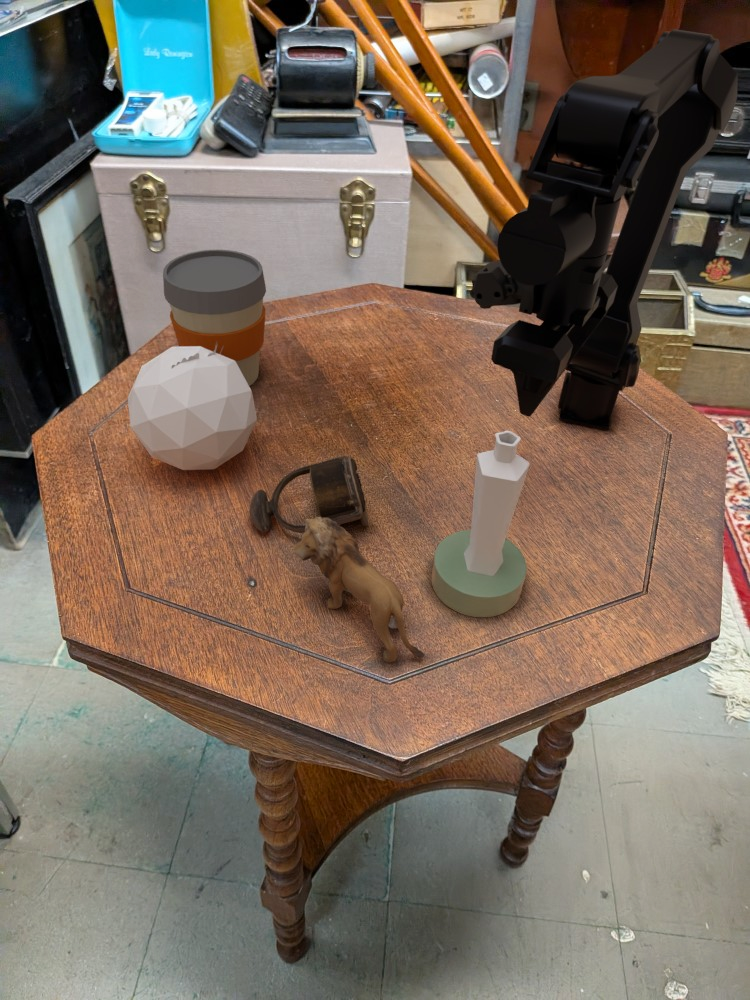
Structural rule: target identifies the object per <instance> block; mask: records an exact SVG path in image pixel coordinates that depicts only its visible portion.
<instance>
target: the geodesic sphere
mask: <svg viewBox="0 0 750 1000" xmlns="http://www.w3.org/2000/svg"><path fill="white" fill-rule="evenodd" d="M216 343H217V342H216ZM223 346H224V345H223ZM216 349H217V345H216V347H215V350H214V352H213V351H210V350H208V349H206V348H203V347H201V346H179V345H178V346H170V347H169V348H168V349H166V350H164V351H163V352H161V353H160V354H158V355H157V356H155V357H154V358H152V359H150V360H149V361H147V362H146V363H144V364H142V365H141V367H140V370H139V372H138V374H137V376H136V378H135V380H134V382H133V384H132V387H131V389H130V392H129V394H128V396H127V405H128V417H129V427H130V429H131V430H132V431H133V433H134V435H135V436H136V437H137V439H138V440H139V441H140V443H141V444H142V446H143V447H144V449H145V450H146V451H147V453H148V454H149V456H150V457H151V458H153V459H155V460H158V461H160V462H163V463H165V464H168V465H170V466H172V467H175V468H177V469H179V470H182V471H197V470H199V471H201V470H202V471H203V470H204V471H205V470H215V469H217V468H218V467H220V466H222V465H223V464H225V463H227V462H228V461H229V460H231V459H232V458H233V457H236V456H237V455H238V454H239V453H241V452H243V451H244V449H245V447H246V445H247V443H248V440H249V439H250V436H251V434H252V431H253V430H254V427H255V425H256V423H257V421H258V417H257V412H256V406H255V400H254V395H253V390H252V389H251V386H249V385H248V383H247V382H246V380H245V378H244V376H243V374H242V372H241V371H240V369H239V367H238V365H237V363H236V362H235V360H232V359H230V358H227V357H225V356H223V355H220V354H221V352H220V354H218V353H216ZM222 349H223V348H222ZM221 351H222V350H221Z"/></svg>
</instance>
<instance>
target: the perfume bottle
mask: <svg viewBox="0 0 750 1000" xmlns="http://www.w3.org/2000/svg"><path fill="white" fill-rule="evenodd" d="M494 436H495V443H494V448H493V449H491V450H487V451H486V450H485V451H482V452H478V453H476V463H475V475H474V486H473V487H474V488H473V499H472V512H471V524H470V530H471V534H470V544H469V546H468V547H467V549H466V551H465V552H464V556H465V561H466V565H467V569H468V571H470V572H475V573H479V574H484V575H489V576H494V575H495V573H496V572H497V570H498V569H499V568H500V566H501V565H502V563H503V554H502V548H503V545H504V542H505V539H507V536H508V533H509V530H510V526H511V524H512V521H513V517H514V514H515V511H516V508H517V505H518V502H519V499H520V495H521V494H522V490H523V487H524V483H525V481H526V477H527V475H528V472H529V468H530V464H531V463H530V462H529V461H528V460H527V459H525V458H524V457H522V456H520V455H519V454H517V452H518V451H517V450H518V446H519V443H520V441H521V440H522V438H521V437H520V436H519V435H517V434H516V433H514V432H513V431H511V430H504V431H499V432H496V433H495V434H494Z"/></svg>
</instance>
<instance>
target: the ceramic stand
mask: <svg viewBox="0 0 750 1000" xmlns="http://www.w3.org/2000/svg"><path fill="white" fill-rule="evenodd" d="M470 534H471V529H464V530H460V531H457V532H453V533H451V534H449V535H447V536H446V537H444V538H443V539H442V540H441V541H440V542H439V543H438V545H437V547H436V548H435V551H434V555H433V562H432V569H431V579H430V580H431V585H432V586H431V587H432V589H433V591H434V593H435V595H436V596H437V598H438V599H439V600H440V601H441V602H442V604H444V605H445V606H446V607H448V608H449V609H451V610H453V611H455V612H456V613H459V614H461V615H463V616H464V615H465V616H467V617H473V618H491V617H492V618H493V617H496V616H499V615H502V614H505V613H506V612H508V611H509V610H511V609H512V608H514V606H515V605H516V604H517V603H518V602H519V600H520V598H521V594H522V591H523V587H524V583H525V580H526V576H527V571H528V570H527V568H528V567H527V562H526V558H525V556H524V554H523V552H522V551H521V549H520V548H519V546H517V545H516V544H515V543H513V542H512V541H511V540H510V539H508V538H506V539H505V542H504V545H503V548H502V554H503V563H502V565H501V566H500V568H499V569H498V570H497V572H496V573H495V575H494V576H489V575H484V574H479V573H475V572H470V571H468V569H467V565H466V561H465V556H464V552H465V551H466V549H467V547H468V546H469V544H470Z"/></svg>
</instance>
